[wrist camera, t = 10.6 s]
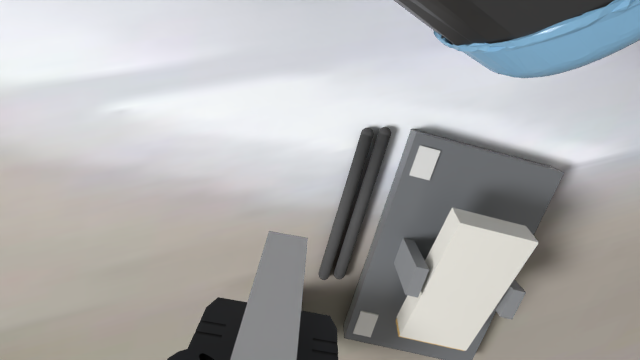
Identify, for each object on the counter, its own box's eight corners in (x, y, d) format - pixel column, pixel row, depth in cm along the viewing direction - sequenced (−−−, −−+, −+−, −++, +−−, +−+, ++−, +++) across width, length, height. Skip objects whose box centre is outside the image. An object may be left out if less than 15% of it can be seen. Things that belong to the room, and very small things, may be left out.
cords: (363, 120, 36) (365, 122, 35) (391, 128, 37) (393, 130, 35) (317, 274, 42) (317, 280, 41) (341, 280, 42) (342, 286, 41)
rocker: (452, 207, 33) (460, 222, 31) (526, 225, 33) (538, 242, 31) (395, 319, 39) (398, 338, 37) (458, 333, 40) (464, 352, 38)
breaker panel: (411, 129, 37) (433, 146, 30) (551, 166, 38) (605, 192, 31) (343, 325, 44) (348, 378, 37) (463, 352, 45) (490, 407, 38)
